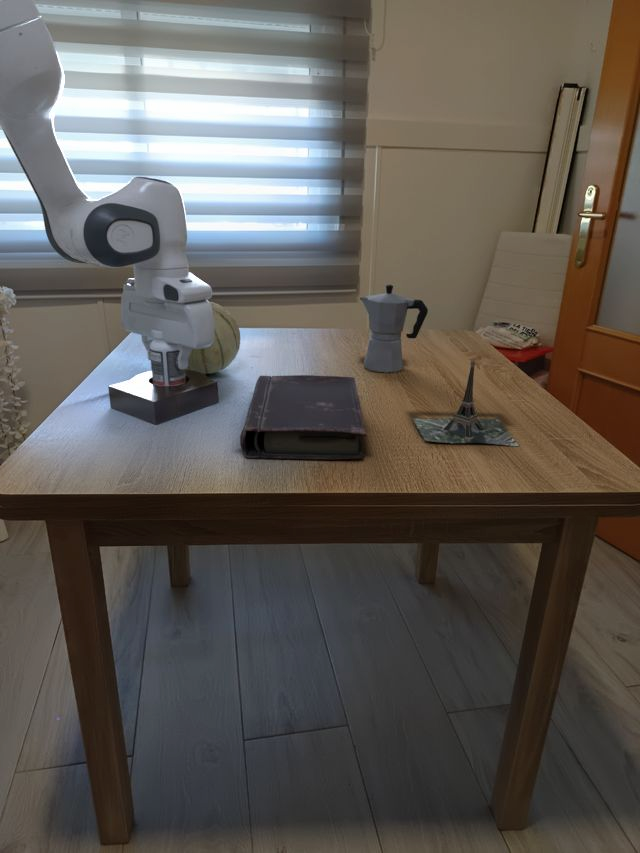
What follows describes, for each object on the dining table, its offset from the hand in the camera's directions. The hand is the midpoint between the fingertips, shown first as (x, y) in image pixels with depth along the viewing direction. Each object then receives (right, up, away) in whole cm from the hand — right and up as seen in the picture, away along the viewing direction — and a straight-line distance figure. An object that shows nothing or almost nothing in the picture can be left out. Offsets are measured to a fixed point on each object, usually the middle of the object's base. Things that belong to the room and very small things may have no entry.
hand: (168, 364), depth 100 cm
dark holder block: (-1, -7, +2) cm, 7 cm away
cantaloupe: (+3, 0, +19) cm, 19 cm away
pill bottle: (0, -4, +2) cm, 4 cm away
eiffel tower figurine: (+50, -12, -7) cm, 52 cm away
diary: (+24, -11, -7) cm, 28 cm away
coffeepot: (+42, +2, +27) cm, 49 cm away
